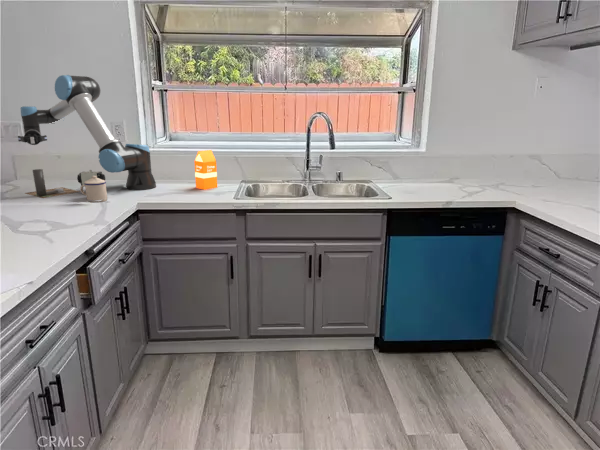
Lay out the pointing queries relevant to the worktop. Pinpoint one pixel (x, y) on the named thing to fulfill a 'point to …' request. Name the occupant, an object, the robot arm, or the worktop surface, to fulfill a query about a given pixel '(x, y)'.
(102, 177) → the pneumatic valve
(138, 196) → the worktop surface
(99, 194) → the teacup with lid
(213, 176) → the orange juice
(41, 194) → the peg lever
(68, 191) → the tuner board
